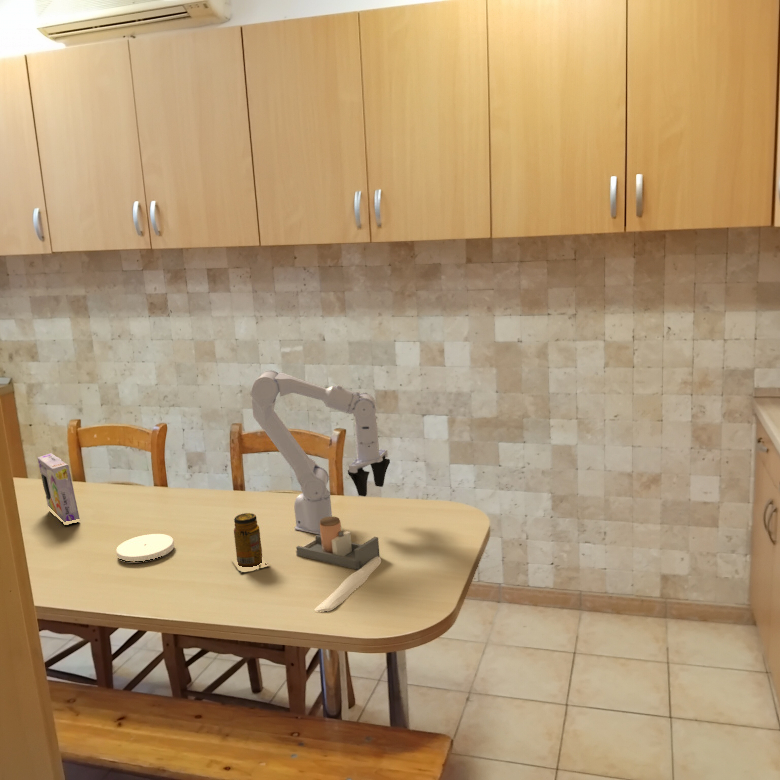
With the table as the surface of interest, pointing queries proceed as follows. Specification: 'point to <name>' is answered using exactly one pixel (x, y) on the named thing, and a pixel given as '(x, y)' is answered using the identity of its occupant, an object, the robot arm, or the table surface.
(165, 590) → the table surface
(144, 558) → the plastic lid
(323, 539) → the jar
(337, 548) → the pusher
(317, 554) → the grey tray
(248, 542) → the condiment
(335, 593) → the spatula
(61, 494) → the cake pan box
